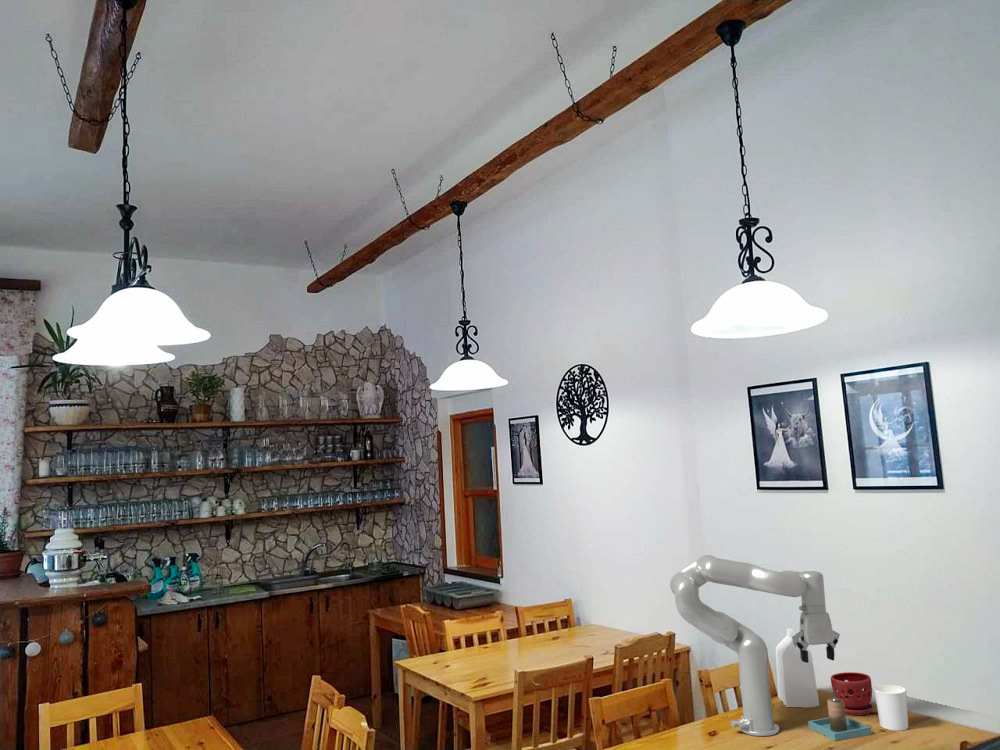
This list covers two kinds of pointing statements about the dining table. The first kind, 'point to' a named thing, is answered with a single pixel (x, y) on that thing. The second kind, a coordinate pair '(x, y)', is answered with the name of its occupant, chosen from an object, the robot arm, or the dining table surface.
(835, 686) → the plant pot
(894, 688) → the candle holder
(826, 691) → the dining table surface
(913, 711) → the dining table surface
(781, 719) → the dining table surface
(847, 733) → the tray
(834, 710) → the pepper mill
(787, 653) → the milk
